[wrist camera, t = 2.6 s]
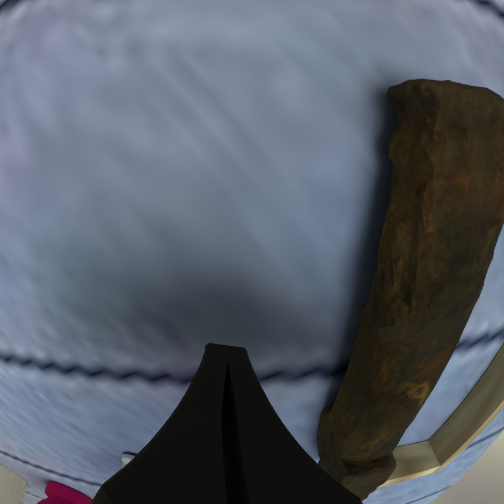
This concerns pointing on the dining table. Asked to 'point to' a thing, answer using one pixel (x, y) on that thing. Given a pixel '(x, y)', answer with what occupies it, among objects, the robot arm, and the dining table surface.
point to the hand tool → (419, 272)
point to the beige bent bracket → (454, 428)
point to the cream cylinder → (11, 487)
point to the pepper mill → (63, 495)
